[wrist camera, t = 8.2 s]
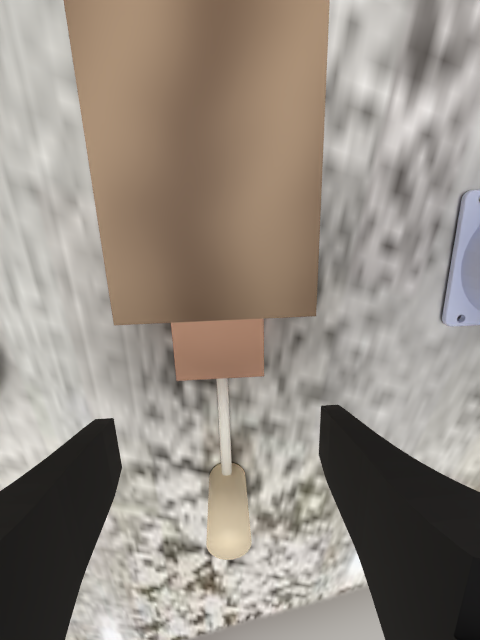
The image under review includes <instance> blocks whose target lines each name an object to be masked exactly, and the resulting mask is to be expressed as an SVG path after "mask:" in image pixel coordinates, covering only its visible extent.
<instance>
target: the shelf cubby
mask: <svg viewBox="0 0 480 640" xmlns="http://www.w3.org/2000/svg"><path fill="white" fill-rule="evenodd" d="M64 6H65V12H66V18H67V25H68V31H69V38H70V44H71V51H72V57H73V64H74V70H75V77H76V83H77V89H78V96H79V102H80V109H81V115H82V122H83V128H84V135H85V141H86V148H87V154H88V160H89V167H90V173H91V180H92V186H93V193H94V199H95V206H96V212H97V219H98V225H99V231H100V238H101V244H102V251H103V257H104V264H105V270H106V277H107V283H108V290H109V296H110V302H111V309H112V315H113V322H114V325H130V324H152V323H174V322H196V321H219V320H241V319H263V318H285V317H307V316H316V305H317V281H318V258H319V234H320V211H321V187H322V164H323V140H324V117H325V93H326V70H327V46H328V23H329V0H64Z"/></svg>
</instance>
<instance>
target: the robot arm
mask: <svg viewBox="0 0 480 640" xmlns="http://www.w3.org/2000/svg"><path fill="white" fill-rule="evenodd" d="M479 197H480V190H470V191H467V192H466V193H465V194H464V195H463V197H462V200H461V206H460V212H459V218H458V224H457V230H456V236H455V242H454V248H453V254H452V260H451V267H450V273H449V279H448V285H447V291H446V297H445V303H444V309H443V315H442V321H443V323H444V324H446V325H448V326H470V325H480V203H479ZM459 315H461V318H460V319H459V320H457V318H458V316H459ZM319 456H320V460H321V464H322V467H323V471H324V474H325V477H326V480H327V483H328V486H329V488H330V490H331V493H332V495H333V497H334V500H335V502H336V504H337V507H338V509H339V511H340V514H341V516H342V518H343V521H344V523H345V525H346V528H347V530H348V532H349V534H350V537H351V539H352V541H353V544H354V546H355V549H356V551H357V554H358V556H359V559H360V562H361V565H362V568H363V571H364V574H365V577H366V580H367V583H368V586H369V589H370V592H371V595H372V598H373V601H374V605H375V608H376V611H377V614H378V618H379V621H380V624H381V627H382V630H383V633H384V637H385V640H480V492H478V491H476V490H474V489H471V488H469V487H467V486H465V485H463V484H461V483H459V482H457V481H454V480H452V479H450V478H449V477H447V476H445V475H443V474H441V473H439V472H437V471H435V470H434V469H432V468H430V467H428V466H426V465H425V464H423V463H421V462H419V461H418V460H416V459H414V458H413V457H411V456H409V455H408V454H406V453H405V452H403V451H402V450H400V449H399V448H397V447H395V446H394V445H392V444H391V443H390V442H388V441H387V440H385V439H384V438H382V437H381V436H380V435H378V434H377V433H375V432H374V431H373V430H371V429H370V428H369V427H367V426H366V425H365V424H363V423H362V422H361V421H359V420H358V419H357V418H355V417H354V416H353V415H352V414H350V413H349V412H348V411H346V410H345V409H344V408H342V407H341V406H339V405H326V406H321V420H320V441H319ZM121 469H122V464H121V459H120V453H119V447H118V442H117V436H116V430H115V425H114V419H113V418H109V419H95V420H94V421H92V422H91V423H90V424H88V425H87V426H86V427H84V428H83V429H82V430H81V431H79V432H78V433H77V434H76V435H75V436H73V437H72V438H71V439H70V440H68V441H67V442H66V443H65V444H63V445H62V446H61V447H60V448H58V449H57V450H56V451H55V452H53V453H52V454H51V455H50V456H48V457H47V458H46V459H44V460H43V461H42V462H40V463H39V464H38V465H36V466H35V467H34V468H32V469H31V470H30V471H28V472H27V473H26V474H24V475H23V476H21V477H20V478H19V479H17V480H16V481H14V482H13V483H12V484H10V485H9V486H7V487H6V488H4V489H3V490H1V491H0V640H65V637H66V634H67V630H68V626H69V623H70V619H71V616H72V613H73V609H74V606H75V602H76V599H77V596H78V592H79V589H80V585H81V582H82V579H83V577H84V574H85V571H86V568H87V565H88V563H89V560H90V558H91V555H92V553H93V550H94V548H95V545H96V543H97V540H98V538H99V535H100V533H101V530H102V527H103V525H104V522H105V520H106V517H107V515H108V512H109V510H110V507H111V504H112V502H113V499H114V496H115V493H116V489H117V485H118V482H119V477H120V473H121Z"/></svg>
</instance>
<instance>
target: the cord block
mask: <svg viewBox="0 0 480 640" xmlns="http://www.w3.org/2000/svg"><path fill="white" fill-rule="evenodd" d="M171 329H172V339H173V349H174V359H175V369H176V379H177V381H182V380H201V379H216V381H217V399H218V416H219V433H220V451H221V464H219V465H217V466H215V467H214V468H213V469H212V471H211V472H210V476H209V497H208V521H207V549H208V551H209V552H210V553H211V554H212V555H213V556H215V557H217V558H219V559H224V560H231V559H236V558H239V557H241V556H243V555H244V554H246V553H247V552H248V550H249V549H250V547H251V532H250V521H249V510H248V500H247V489H246V478H245V472H244V470H243V469H242V468H241V467H240V466H239V465H237V464H235V463H232V462H231V440H230V418H229V397H228V378H239V377H258V376H264V318H263V319H241V320H219V321H196V322H174V323H171Z"/></svg>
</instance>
